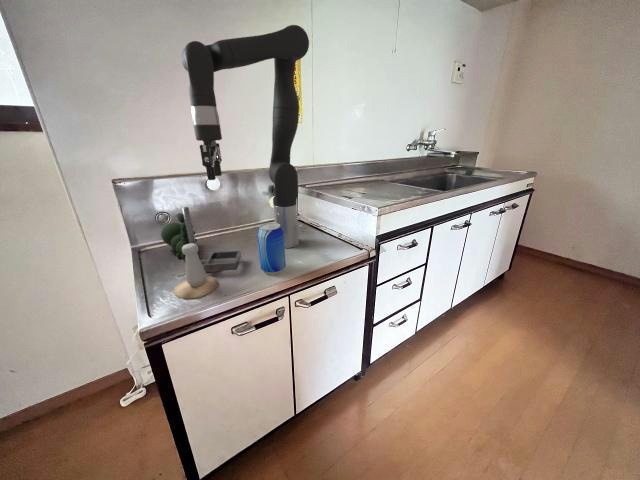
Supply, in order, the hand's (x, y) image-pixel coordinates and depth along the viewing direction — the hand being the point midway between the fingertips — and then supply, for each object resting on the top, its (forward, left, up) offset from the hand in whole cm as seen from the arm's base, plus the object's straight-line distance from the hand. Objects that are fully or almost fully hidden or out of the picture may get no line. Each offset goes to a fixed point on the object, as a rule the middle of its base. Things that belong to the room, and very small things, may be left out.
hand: (215, 177), depth 86 cm
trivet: (+6, +18, -30) cm, 36 cm away
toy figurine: (+19, -9, -30) cm, 37 cm away
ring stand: (+3, +6, -30) cm, 31 cm away
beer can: (-17, +10, -30) cm, 36 cm away
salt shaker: (+6, +17, -30) cm, 35 cm away
